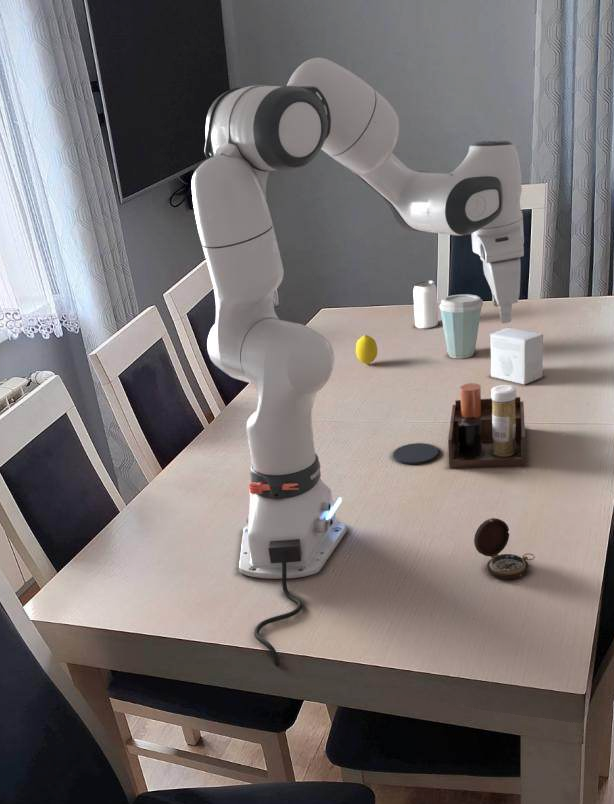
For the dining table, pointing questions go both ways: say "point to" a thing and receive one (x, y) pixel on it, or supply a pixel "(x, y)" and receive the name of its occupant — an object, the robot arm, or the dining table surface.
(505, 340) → the cosmetics box
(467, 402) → the terracotta spice jar
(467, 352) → the disposable coffee cup
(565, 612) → the dining table surface
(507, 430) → the sprinkles bottle
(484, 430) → the spice rack
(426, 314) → the can
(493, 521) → the compass
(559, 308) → the dining table surface
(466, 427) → the black spice tin
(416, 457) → the coaster
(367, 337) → the lemon
